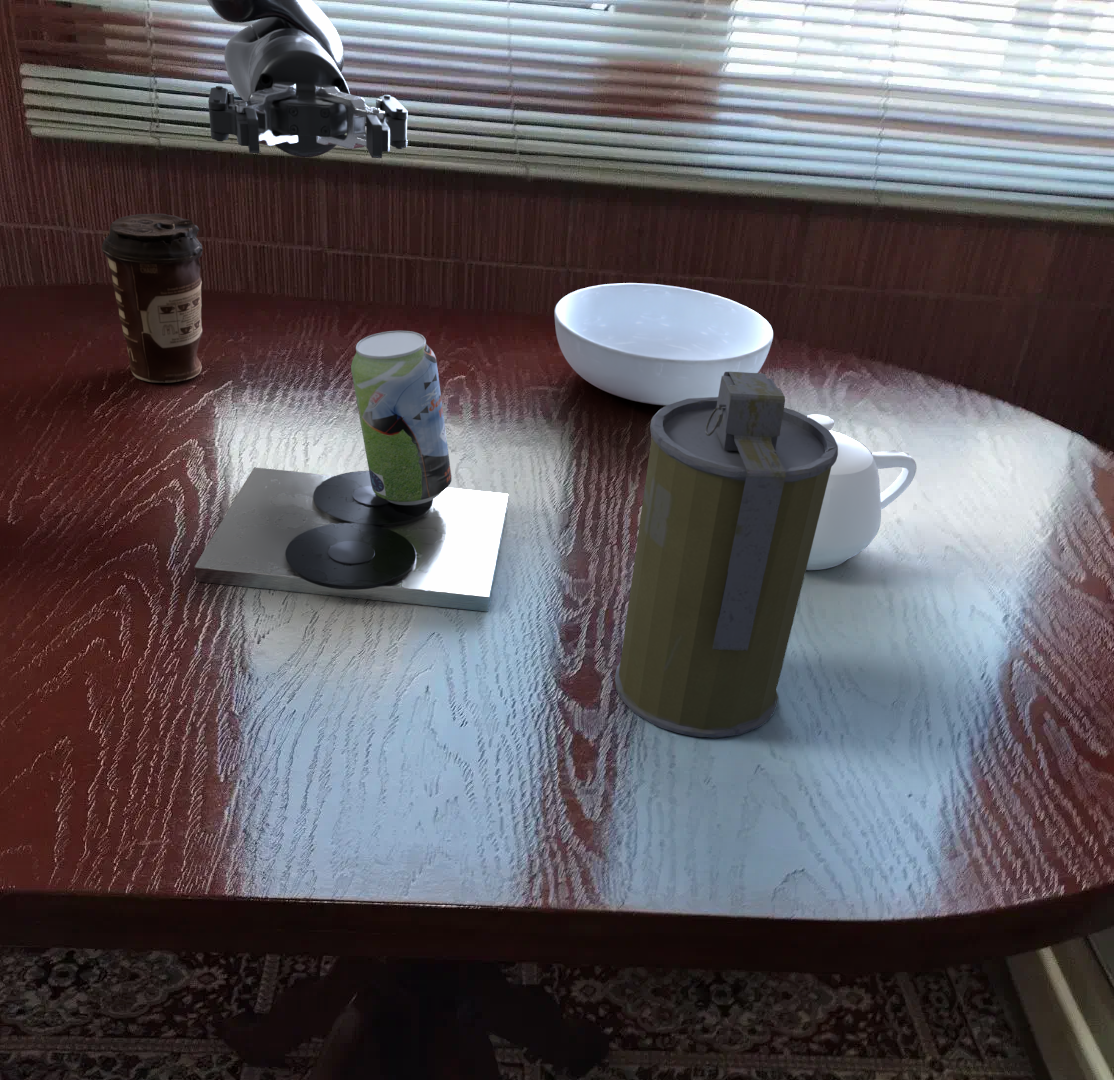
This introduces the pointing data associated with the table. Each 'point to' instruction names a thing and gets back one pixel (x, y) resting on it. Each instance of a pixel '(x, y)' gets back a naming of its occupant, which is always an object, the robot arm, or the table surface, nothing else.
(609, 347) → the serving bowl
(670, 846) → the table surface
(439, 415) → the beverage can
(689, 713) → the canister
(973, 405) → the table surface
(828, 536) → the teapot
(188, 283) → the coffee cup
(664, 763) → the table surface
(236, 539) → the hob
